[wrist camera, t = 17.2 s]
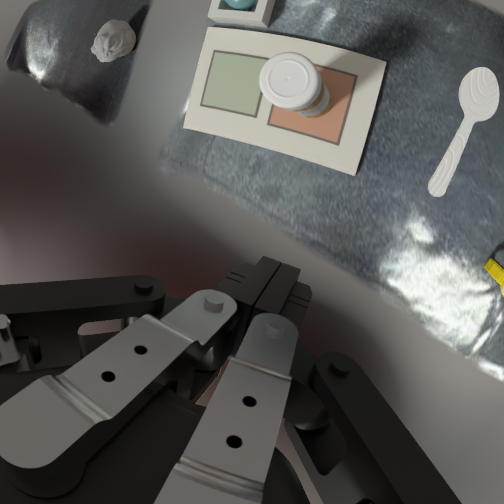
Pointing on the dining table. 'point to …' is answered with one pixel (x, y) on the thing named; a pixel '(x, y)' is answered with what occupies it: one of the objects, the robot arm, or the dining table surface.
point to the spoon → (467, 122)
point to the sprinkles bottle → (295, 85)
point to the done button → (242, 4)
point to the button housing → (242, 13)
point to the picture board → (273, 117)
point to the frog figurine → (113, 41)
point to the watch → (496, 272)
